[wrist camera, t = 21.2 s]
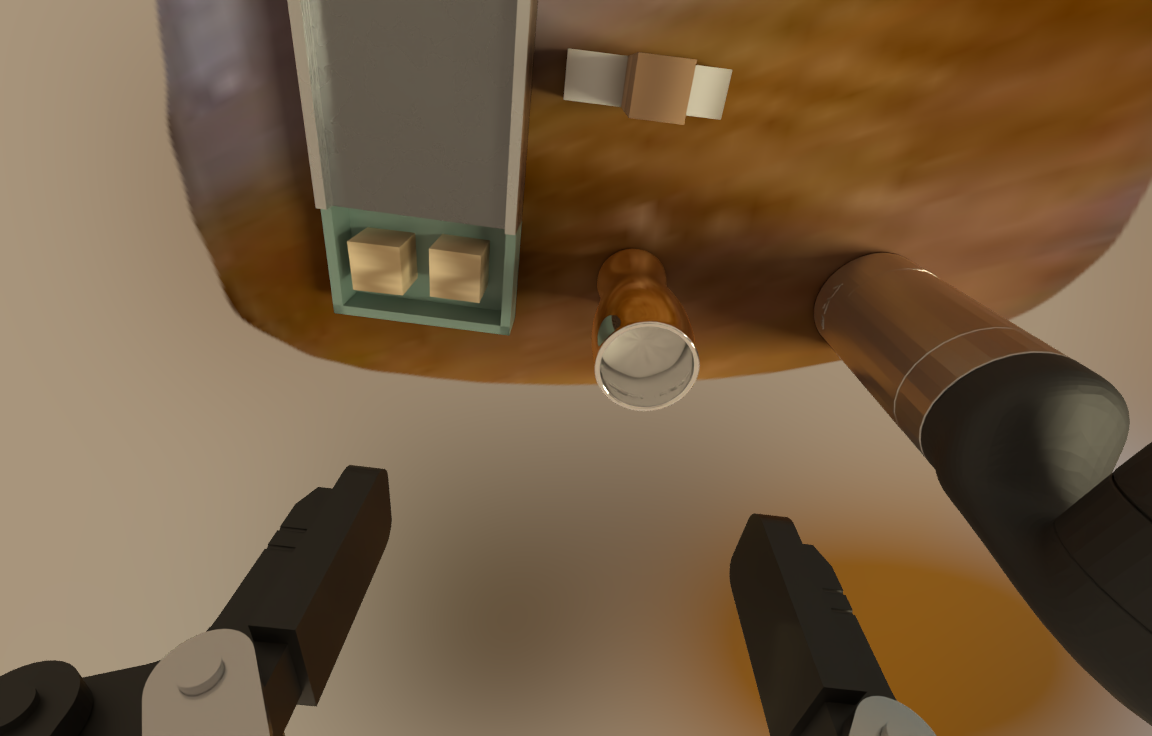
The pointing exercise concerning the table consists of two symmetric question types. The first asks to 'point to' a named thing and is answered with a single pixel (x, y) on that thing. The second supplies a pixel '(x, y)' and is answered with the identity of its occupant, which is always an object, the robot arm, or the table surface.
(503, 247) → the chip tray
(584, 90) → the rake tool
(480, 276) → the maple cube
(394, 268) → the maple cube
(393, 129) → the open box
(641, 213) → the table surface
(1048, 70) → the table surface
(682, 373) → the beer glass
